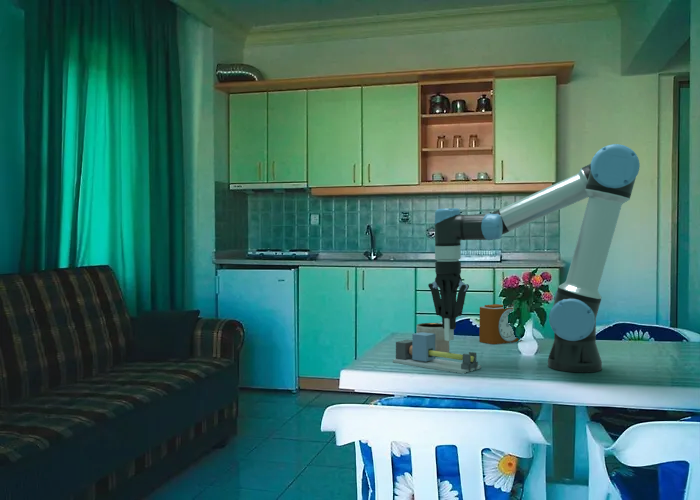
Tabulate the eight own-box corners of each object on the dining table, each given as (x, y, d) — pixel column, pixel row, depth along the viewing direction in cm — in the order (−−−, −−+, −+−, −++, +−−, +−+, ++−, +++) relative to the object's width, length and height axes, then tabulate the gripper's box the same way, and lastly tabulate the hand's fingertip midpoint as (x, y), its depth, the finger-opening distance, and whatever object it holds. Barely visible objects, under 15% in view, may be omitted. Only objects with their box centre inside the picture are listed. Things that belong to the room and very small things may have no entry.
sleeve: (435, 359, 201) (435, 333, 201) (426, 361, 197) (426, 335, 197) (421, 357, 205) (421, 332, 204) (412, 359, 201) (412, 334, 200)
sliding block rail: (481, 368, 194) (481, 347, 194) (463, 373, 186) (463, 352, 186) (410, 357, 210) (410, 338, 210) (391, 362, 203) (392, 342, 202)
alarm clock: (493, 345, 234) (494, 307, 234) (476, 341, 241) (477, 304, 241) (522, 341, 242) (523, 304, 242) (505, 338, 249) (505, 302, 249)
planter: (448, 357, 210) (448, 327, 210) (414, 356, 212) (414, 326, 212) (450, 351, 221) (450, 323, 221) (417, 350, 223) (417, 322, 223)
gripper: (473, 260, 193) (475, 340, 194) (436, 259, 202) (437, 336, 202) (460, 261, 188) (461, 343, 188) (422, 260, 196) (423, 339, 197)
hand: (449, 339), depth 195 cm, fingers closed
